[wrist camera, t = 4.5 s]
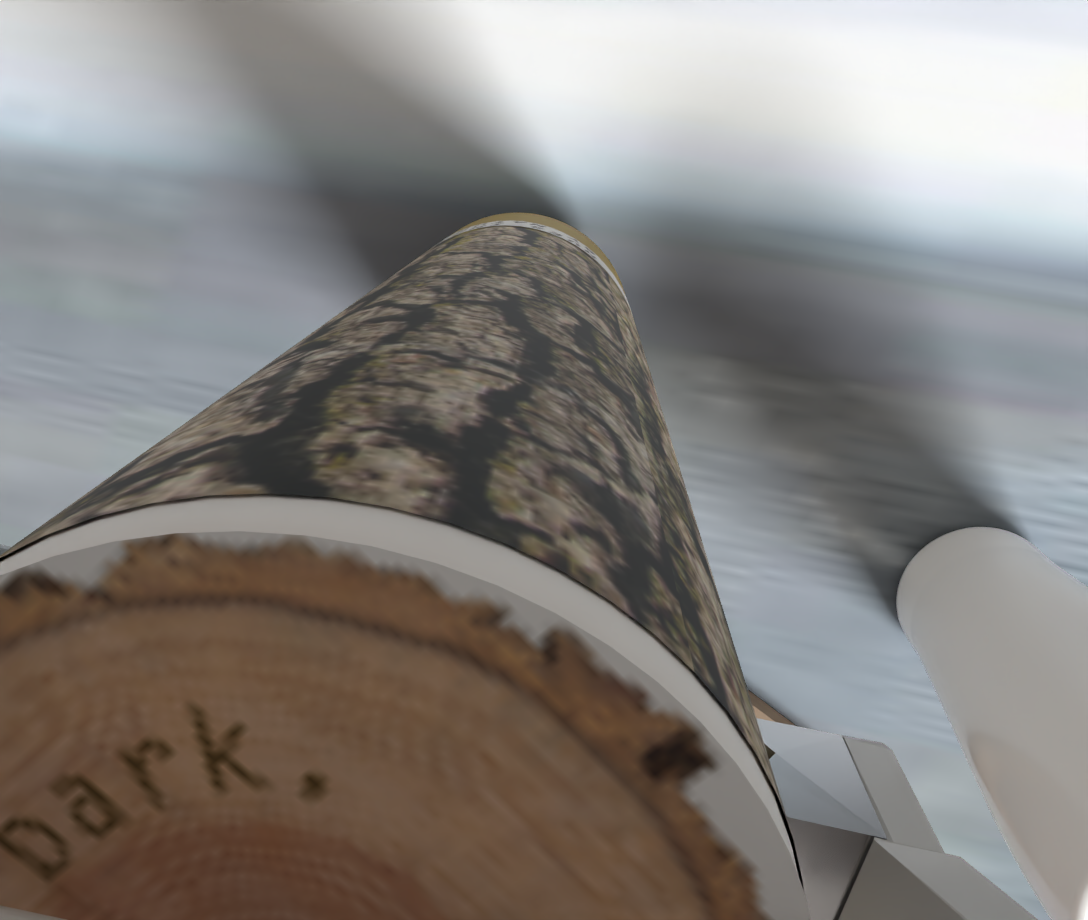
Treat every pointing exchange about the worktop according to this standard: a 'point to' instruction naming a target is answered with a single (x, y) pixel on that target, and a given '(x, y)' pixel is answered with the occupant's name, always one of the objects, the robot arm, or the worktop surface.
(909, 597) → the drinking glass
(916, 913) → the robot arm
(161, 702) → the paper tube
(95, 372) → the worktop surface
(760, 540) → the worktop surface
